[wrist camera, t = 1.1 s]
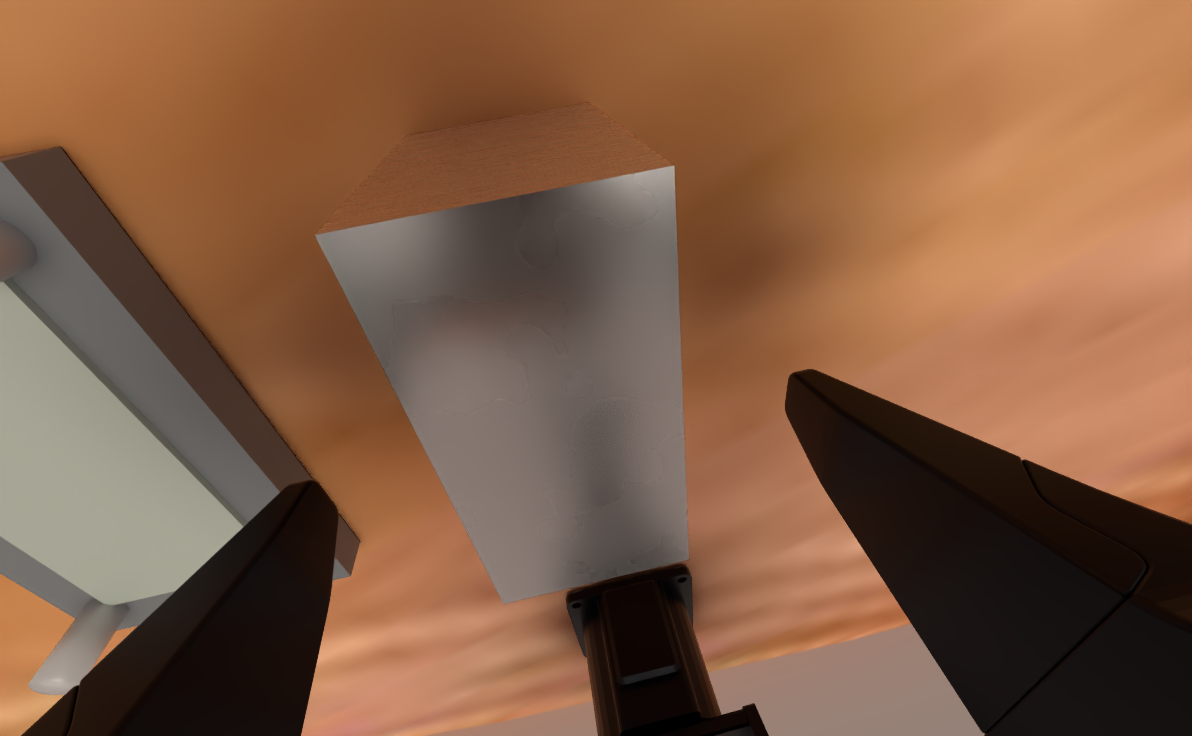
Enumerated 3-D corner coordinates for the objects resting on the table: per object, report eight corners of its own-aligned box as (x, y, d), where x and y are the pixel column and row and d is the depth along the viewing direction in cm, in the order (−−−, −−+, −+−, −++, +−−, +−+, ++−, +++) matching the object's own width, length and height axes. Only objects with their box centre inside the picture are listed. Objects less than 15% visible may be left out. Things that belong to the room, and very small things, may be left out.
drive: (625, 384, 17) (689, 559, 11) (498, 412, 17) (499, 605, 11) (588, 101, 12) (673, 165, 6) (401, 136, 11) (306, 237, 6)
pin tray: (359, 542, 19) (332, 644, 16) (126, 595, 19) (49, 712, 15) (60, 146, 10) (-141, 198, 7) (-402, 228, 10) (-847, 323, 6)
